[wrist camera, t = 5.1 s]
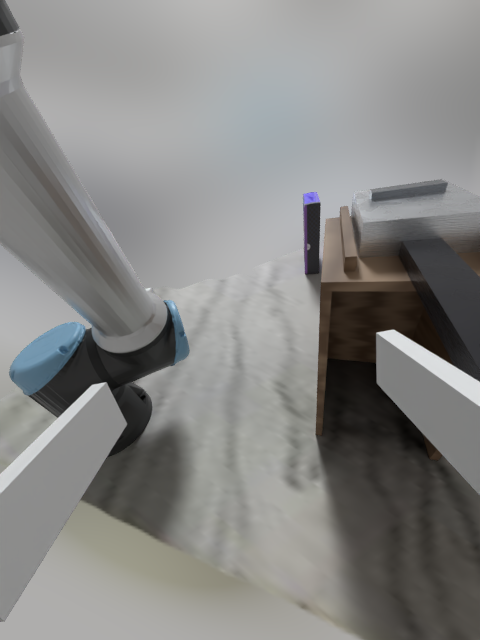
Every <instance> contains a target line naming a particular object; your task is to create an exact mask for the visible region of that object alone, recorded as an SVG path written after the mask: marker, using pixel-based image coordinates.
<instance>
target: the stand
mask: <svg viewBox="0 0 480 640" xmlns="http://www.w3.org/2000/svg"><path fill="white" fill-rule="evenodd" d="M457 254H458V255H459V256H460V257H461V258H462V259H463V260H464V261H465V262H466V263H467V264H468V265H469V266H470V267H471V268H472V270H473V271H474V272H475V273H476V274H477V275H478V276H479V277H480V252H469V253H457ZM388 330H395V331H397V332H399V333H400V334H402V335H404V336H405V337H407V338H409V339H410V340H412V341H414V342H415V343H417V344H418V345H420V346H422V347H423V348H425V349H427V350H428V351H430V352H432V353H433V354H435V355H437V356H438V357H440V358H441V359H443V360H445V361H446V362H448V363H450V364H451V365H453V363H452V361H451V359H450V357H449V355H448V353H447V351H446V349H445V347H444V345H443V343H442V341H441V339H440V337H439V335H438V333H437V331H436V329H435V327H434V325H433V323H432V321H431V319H430V317H429V315H428V313H427V311H426V310H425V308H424V306H423V304H422V302H421V300H420V298H419V296H418V294H417V292H416V290H415V288H414V286H413V284H412V282H411V280H410V278H409V276H408V274H407V272H406V270H405V268H404V266H403V264H402V262H401V260H400V258H399V256H384V257H363V258H358V253H357V247H356V242H355V237H354V232H353V227H352V222H351V216H350V215H349V210H348V206H344V207H341V208H340V217H339V218H330V219H326V224H325V237H324V249H323V262H322V275H321V295H320V324H319V354H318V384H317V414H316V435H319V436H322V428H323V413H324V398H325V384H326V369H327V358H330V359H340V360H351V361H361V362H371V363H376V333H377V332H383V331H388ZM453 366H454V365H453ZM422 435H423V438H424V442H425V445H426V449H427V452H428V456H429V459H432V460H437V461H438V460H439V459H440V458H441V456H442V454H441V453H440V452H439V451H438V450H437V448H436V447H435V446H434V445H433V444H432V443H431V442H430V441H429V440H428V439H427V438H426V436H425V435H424V434H423V433H422Z"/></svg>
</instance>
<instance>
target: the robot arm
mask: <svg viewBox="0 0 480 640" xmlns="http://www.w3.org/2000/svg"><path fill="white" fill-rule="evenodd" d="M23 42H24V36H23V34H22V32H21V30H20V28H19V26H18V24H17V22H16V21H15V19H14V17H13V15H12V13H11V11H10V9H9V7H8V5H7V4H6V1H5V0H0V244H1V245H2V246H3V247H4V248H5V249H6V250H8V251H9V252H10V253H11V254H12V255H13V256H14V257H15V258H17V259H18V260H19V261H20V262H21V263H22V264H23V265H24V266H26V267H27V268H28V269H29V270H30V271H31V272H32V273H34V274H35V275H36V276H37V277H38V278H39V279H40V280H41V281H43V282H44V283H45V284H46V285H47V286H48V287H50V288H51V289H52V290H53V291H54V292H55V293H56V294H57V295H58V296H60V297H61V298H62V299H63V300H64V301H65V302H67V303H68V304H69V305H70V306H71V307H72V308H73V309H75V310H76V311H77V312H78V313H79V314H80V315H81V316H82V317H83V318H85V319H86V320H87V321H88V322H89V323H90V324H91V325H92V328H90V329H85V326H84V325H81V324H80V323H78V322H68V323H65V324H62V325H59V326H57V327H55V328H53V329H51V330H49V331H47V332H46V333H44V334H43V335H41V336H40V337H38V338H37V339H35V340H34V341H33V342H31V343H30V344H29V345H28V346H27V347H26V348H24V349H23V350H22V351H21V353H20V354H19V355H18V356H17V357H16V358H15V360H14V361H13V363H12V365H11V367H10V372H9V375H10V378H11V380H12V381H13V382H14V383H15V384H16V385H17V386H18V387H19V388H21V389H22V390H23V393H24V394H25V395H28V396H29V397H31V398H32V399H33V400H35V401H36V402H37V403H39V404H40V405H41V406H43V407H44V408H45V409H47V410H48V411H49V412H51V413H52V414H53V415H55V416H56V417H58V419H57V420H56V421H55V422H54V423H52V424H51V425H50V426H49V427H48V428H47V429H46V430H45V431H44V432H43V433H42V434H41V435H40V436H39V437H38V438H37V439H36V440H35V441H34V442H33V443H32V444H31V445H30V446H29V447H28V448H27V449H26V450H25V451H24V452H23V453H22V454H21V455H20V456H19V457H18V458H16V459H15V460H14V461H13V462H12V463H11V464H10V465H9V466H8V467H7V468H6V469H5V470H4V471H3V472H2V473H1V474H0V622H1V621H5V620H6V618H7V616H8V615H9V613H10V612H11V610H12V608H13V607H14V605H15V604H16V602H17V600H18V599H19V597H20V596H21V594H22V592H23V591H24V589H25V587H26V586H27V584H28V583H29V581H30V579H31V578H32V576H33V574H34V573H35V571H36V570H37V568H38V567H39V565H40V563H41V562H42V560H43V559H44V557H45V555H46V554H47V552H48V551H49V549H50V547H51V546H52V544H53V543H54V541H55V539H56V538H57V536H58V535H59V533H60V531H61V530H62V528H63V526H64V525H65V523H66V521H67V520H68V518H69V517H70V515H71V514H72V512H73V510H74V509H75V507H76V506H77V504H78V502H79V501H80V499H81V498H82V496H83V494H84V493H85V491H86V490H87V488H88V486H89V485H90V483H91V482H92V480H93V478H94V477H95V475H96V474H97V472H98V470H99V469H100V467H101V466H102V464H103V462H104V461H105V459H106V458H107V457H108V456H111V455H113V454H115V453H117V452H119V451H121V450H123V449H124V448H126V447H127V446H128V445H130V444H131V443H132V442H133V441H134V440H135V439H136V438H137V437H138V436H139V435H140V433H141V432H142V431H143V429H144V428H145V426H146V425H147V423H148V421H149V418H150V415H151V411H152V402H151V399H150V397H149V395H148V394H147V393H146V391H145V390H144V389H143V388H141V387H140V386H138V385H136V384H134V383H132V381H135V380H137V379H140V378H142V377H144V376H147V375H149V374H151V373H154V372H156V371H159V370H161V369H163V368H166V367H168V366H173V365H175V364H176V363H177V362H179V361H181V360H183V359H185V358H186V357H187V356H188V355H189V345H188V341H187V337H186V334H185V332H184V327H183V324H182V321H181V318H180V315H179V312H178V310H177V307H176V305H175V303H174V302H173V301H171V300H168V301H166V300H164V301H163V300H162V299H161V298H160V297H159V296H158V295H156V294H154V293H152V292H149V291H146V290H145V288H144V287H143V285H142V283H141V281H140V280H139V278H138V277H137V275H136V273H135V272H134V270H133V268H132V266H131V265H130V263H129V261H128V260H127V258H126V256H125V255H124V253H123V251H122V250H121V248H120V246H119V245H118V243H117V241H116V240H115V238H114V236H113V235H112V233H111V231H110V229H109V228H108V226H107V224H106V223H105V221H104V219H103V218H102V216H101V214H100V213H99V211H98V209H97V208H96V206H95V204H94V203H93V201H92V199H91V198H90V196H89V194H88V193H87V191H86V189H85V187H84V186H83V184H82V182H81V181H80V179H79V177H78V176H77V174H76V172H75V171H74V169H73V168H72V166H71V164H70V163H69V161H68V159H67V157H66V156H65V154H64V152H63V151H62V149H61V147H60V146H59V144H58V142H57V141H56V139H55V137H54V135H53V134H52V132H51V130H50V129H49V127H48V126H47V124H46V122H45V120H44V119H43V117H42V115H41V114H40V112H39V110H38V109H37V107H36V105H35V104H34V102H33V100H32V99H31V97H30V95H29V94H28V92H27V90H26V89H25V87H24V85H23V82H22V79H21V77H20V70H21V61H22V52H23ZM376 373H377V384H378V385H379V386H380V387H381V388H382V390H383V391H384V392H385V393H386V394H387V395H388V396H389V397H390V398H391V399H392V400H393V402H394V403H395V404H396V405H397V406H398V407H399V408H400V409H401V410H402V411H403V412H404V414H405V415H406V416H407V417H408V418H409V419H410V420H411V421H412V422H413V423H414V424H415V426H416V427H417V428H418V429H419V430H420V431H421V432H422V433H423V434H424V435H425V436H426V438H427V439H428V440H429V441H430V442H431V443H432V444H433V445H434V446H435V447H436V448H437V450H438V451H439V452H440V453H441V454H442V455H443V456H444V457H445V458H446V459H447V460H448V462H449V463H450V464H451V465H452V466H453V467H454V468H455V469H456V470H457V471H458V472H459V473H460V475H461V476H462V477H463V478H464V479H465V480H466V481H467V482H468V483H469V484H470V485H471V487H472V488H473V489H474V490H475V491H476V492H477V493H478V494H479V495H480V382H479V381H478V380H476V379H474V378H473V377H471V376H469V375H468V374H466V373H464V372H463V371H461V370H460V369H458V368H456V367H455V366H453V365H451V364H450V363H448V362H446V361H445V360H443V359H441V358H440V357H438V356H437V355H435V354H433V353H432V352H430V351H428V350H427V349H425V348H423V347H422V346H420V345H418V344H417V343H415V342H414V341H412V340H410V339H409V338H407V337H405V336H404V335H402V334H400V333H399V332H397V331H395V330H388V331H383V332H377V333H376Z"/></svg>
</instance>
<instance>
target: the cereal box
mask: <svg viewBox="0 0 480 640" xmlns="http://www.w3.org/2000/svg"><path fill="white" fill-rule="evenodd" d="M303 211H304V261H305V274H315V273H319V239H320V200H319V197H318V194H317V192H311V193H307V194H303Z"/></svg>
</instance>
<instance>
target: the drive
mask: <svg viewBox="0 0 480 640" xmlns="http://www.w3.org/2000/svg"><path fill="white" fill-rule="evenodd" d="M351 222H352V227H353V232H354V237H355V242H356V247H357V253H358V258H363V257H384V256H399V258H400V260H401V262H402V264H403V266H404V268H405V270H406V272H407V274H408V276H409V278H410V280H411V282H412V284H413V286H414V288H415V290H416V292H417V294H418V296H419V298H420V300H421V302H422V304H423V306H424V308H425V310H426V311H427V313H428V315H429V317H430V319H431V321H432V323H433V325H434V327H435V329H436V331H437V333H438V335H439V337H440V339H441V341H442V343H443V345H444V347H445V349H446V351H447V353H448V355H449V357H450V359H451V361H452V363H453V365H454V366H455V367H456V368H458V369H460V370H461V371H463V372H464V373H466V374H468V375H469V376H471V377H473V378H474V379H476V380H478V381H479V382H480V277H479V276H478V275H477V274H476V273H475V272H474V271H473V270H472V268H471V267H470V266H469V265H468V264H467V263H466V262H465V261H464V260H463V259H462V258H461V257H460V256H459V255H458V254H457V253H469V252H480V197H479V196H477V195H475V194H473V193H471V192H469V191H467V190H465V189H462V188H460V187H458V186H456V185H454V184H452V183H450V182H447V181H446V180H443V179H441V180H434V181H427V182H420V183H413V184H406V185H399V186H391V187H385V188H378V189H370V190H364V191H356V192H354V193H353V202H352V212H351Z"/></svg>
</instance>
